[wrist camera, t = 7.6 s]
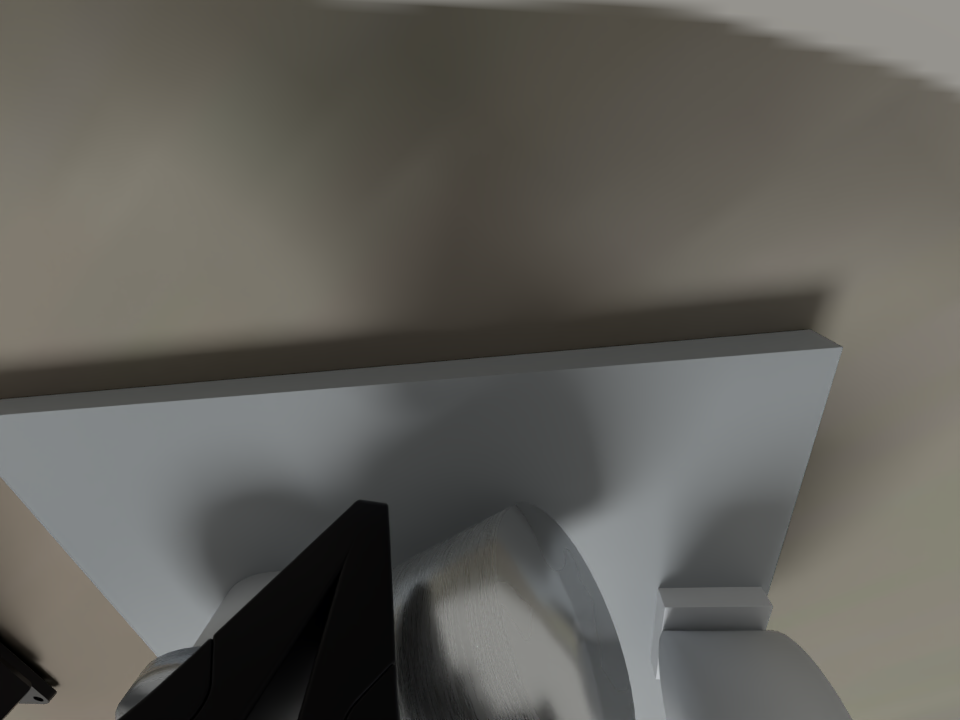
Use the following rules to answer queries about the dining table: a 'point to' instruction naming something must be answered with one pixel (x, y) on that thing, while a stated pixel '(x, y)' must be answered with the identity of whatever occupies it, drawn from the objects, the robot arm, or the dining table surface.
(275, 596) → the robot arm
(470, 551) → the elbow
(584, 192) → the dining table surface
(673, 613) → the grey plate with knobs
